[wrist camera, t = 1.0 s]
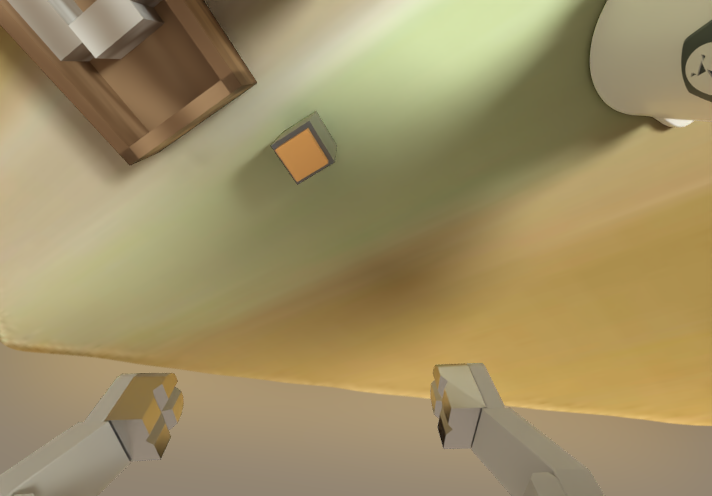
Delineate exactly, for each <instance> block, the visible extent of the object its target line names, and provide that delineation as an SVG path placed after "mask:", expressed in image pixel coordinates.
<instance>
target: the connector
mask: <svg viewBox="0 0 712 496" xmlns="http://www.w3.org/2000/svg"><path fill="white" fill-rule="evenodd" d="M271 147H272V149H273V150H274V152H275V153H276V155H277V156H278V158H279V159H280V160H281V162H282V163H283V165H284V166H285V168H286V169H287V170H288V172H289V173H290V175H291V176H292V178H293V179H294V181H295V182H296V183H297V185H298V184H299V183H301V182H303V181H304V180H306V179H308V178H309V177H311V176H313V175H314V174H316V173H318V172H319V171H321V170H323V169H324V168H326V167H328V166H329V165H331V164H333V163H334V162H335V157H336V149H337V145H336V143H335V141H334V140H333V138H332V136H331V135H330V133H329V131H328V130H327V128H326V126H325V125H324V123H323V121H322V120H321V118H320V116H319V115H318V113H317V111H315V112H313V113H312V114H310V115H309V116H307V117H306V118H304V119H302V120H301V121H299V122H298V123H296V124H295V125H293V126H292V127H290V128H289V129H287V130H286V131H284V132H283V133H282V134H281V135H280V136H279V137H278V138H277V139H276V140H275V142H274V143H273V144H272V145H271Z"/></svg>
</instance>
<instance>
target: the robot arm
mask: <svg viewBox="0 0 712 496" xmlns="http://www.w3.org/2000/svg"><path fill="white" fill-rule="evenodd" d="M590 71H591V77H592V81H593V84H594V86H595V89H596V91H597V93H598V94H599V96H600V97H601V98H602V100H603V101H604V102H605V103H606V104H607V105H609V106H610V107H611V108H613V109H615V110H616V111H619V112H621V113H625V114H629V115H640V116H650V117H654V118H655V119H656V120H658V121H659V122H661V123H662V124H664V125H666V126H669V127H684V126H687V125H688V124H690V123H692V122H693V121H710V122H712V0H607V2H606V4H605V6H604V8H603V10H602V12H601V14H600V17H599V19H598V22H597V24H596V27H595V31H594V34H593V38H592V43H591V50H590ZM433 376H434V379H435V380H434V381H433V382H432V383H431V390H430V392H431V403H432V408H433V412H434V415H435V416H436V417H438V418H439V422H438V431H439V434H440V438H441V441H442V445H443V448H444V449H448V448H449V449H456V448H457V449H460V448H472V451H473V452H474V454H475V455H476V456H477V457H478V458H479V459H480V460H481V462H482V463H483V464H484V465H485V466H486V467H487V468H488V470H489V471H490V472H491V473H492V474H493V475H494V476H495V478H496V479H497V480H498V481H499V482H500V483H501V484H502V486H503V487H504V488H505V489H506V490H507V491H508V492H509V494H510V495H511V496H605V495H604V493H603V491H602V490H601V488H600V487H599V485H598V483H597V482H596V480H595V479H594V477H593V475H592V474H591V472H590V470H589V469H588V468H586V467H585V466H584V465H583V464H581V463H580V462H579V461H578V460H576V459H575V458H574V457H572V456H571V455H570V454H568V453H567V452H566V451H565V450H564V449H562V448H561V447H560V446H559V445H557V444H556V443H555V442H553V441H552V440H551V439H550V438H548V437H547V436H546V435H545V434H543V433H542V432H541V431H539V430H538V429H537V428H536V427H534V426H533V425H532V424H531V423H529V422H528V421H526V419H524V418H523V417H522V416H520V415H519V414H518V413H517V412H515V411H514V410H513V409H511V408H505V406H504V404H503V402H502V399H501V397H500V395H499V393H498V391H497V389H496V387H495V385H494V383H493V381H492V379H491V377H490V375H489V373H488V371H487V369H486V367H485V365H484V364H483V363H469V364H465V363H464V364H441V365H435V366H434V369H433ZM177 382H178V381H177V378H176V376H175V374H172V373H136V374H121V375H120V376H118V377H117V378H116V379H115V380H114V382H113V383H112V384H111V386H110V387H109V388H108V390H107V391H106V392H105V394H104V395H103V397H102V398H101V399H100V401H99V402H98V403H97V405H96V406H95V407H94V409H93V410H92V411H91V413H90V414H89V416H88V417H87V419H86V420H85V421H84V422H79V423H77V424H76V425H74V426H72V427H71V428H69V429H68V430H66V431H65V432H63V433H62V434H61V435H59V436H57V437H56V438H55V439H53V440H52V441H50V442H49V443H47V444H46V445H44V446H43V447H41V448H40V449H38V450H37V451H35V452H34V453H32V454H31V455H29V456H28V457H26V458H25V459H23V460H22V461H21V462H19V463H17V464H16V465H14V466H13V467H12V468H10V469H9V470H7V471H6V472H4V473H3V474H1V475H0V496H98V495H99V494H100V493H101V492H102V491H103V490H104V489H105V488H106V487H107V486H108V485H109V484H110V483H111V482H112V481H113V480H114V479H115V478H116V477H117V476H118V475H119V474H120V473H121V472H122V471H123V470H124V469H125V468H126V467H127V466H128V465H129V464H130V461H146V460H161V458H162V455H163V453H164V451H165V449H166V447H167V445H168V443H169V441H170V438H171V435H170V432H169V430H170V429H171V428H172V427H174V426H175V425H176V424H177V423H178V421H179V419H180V416H181V414H182V409H183V395H182V392H181V391H180V390H179V389H178V388H176V387H175V385H176V383H177Z"/></svg>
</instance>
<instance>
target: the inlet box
mask: <svg viewBox="0 0 712 496" xmlns="http://www.w3.org/2000/svg"><path fill="white" fill-rule="evenodd" d="M0 25H1V26H2V27H3V28H4V29H5V30H6V32H7V33H8V34H9V35H10V36H11V37H12V38H13V39H14V40H15V41H16V42H17V43H18V45H19V46H20V47H21V48H22V49H23V50H24V51H25V52H26V53H27V54H28V55H29V57H30V58H31V59H32V60H33V61H34V62H35V63H36V64H37V65H38V66H39V67H40V68H41V70H42V71H43V72H44V73H45V74H46V75H47V76H48V77H49V78H50V79H51V80H52V82H53V83H54V84H55V85H56V86H57V87H58V88H59V89H60V90H61V91H62V92H63V93H64V95H65V96H66V97H67V98H68V99H69V100H70V101H71V102H72V103H73V104H74V105H75V107H76V108H77V109H78V110H79V111H80V112H81V113H82V114H83V115H84V116H85V117H86V118H87V120H88V121H89V122H90V123H91V124H92V125H93V126H94V127H95V128H96V129H97V130H98V132H99V133H100V134H101V135H102V136H103V137H104V138H105V139H106V140H107V141H108V142H109V143H110V145H111V146H112V147H113V148H114V149H115V150H116V151H117V152H118V153H119V154H120V155H121V157H122V158H123V159H124V160H125V161H126V162H127V163H128V164H129V165H132V164H134V163H137V162H139V161H141V160H143V159H145V158H147V157H150V156H152V155H154V154H156V153H158V152H160V151H161V150H163V149H164V148H166V147H167V146H168V145H170V144H171V143H173V142H174V141H176V140H177V139H178V138H180V137H181V136H183V135H184V134H185V133H187V132H188V131H190V130H191V129H193V128H194V127H195V126H197V125H198V124H200V123H201V122H202V121H204V120H205V119H207V118H208V117H210V116H211V115H212V114H214V113H215V112H217V111H218V110H219V109H221V108H222V107H224V106H225V105H227V104H228V103H229V102H231V101H232V100H234V99H235V98H236V97H238V96H239V95H241V94H242V93H244V92H245V91H246V90H248V89H249V88H251V87H252V86H253V85H255V84H256V83H257V82H256V80H255V78H254V77H253V75H252V74H251V72H250V71H249V69H248V68H247V66H246V65H245V63H244V62H243V60H242V59H241V57H240V56H239V54H238V53H237V51H236V49H235V48H234V46H233V45H232V43H231V42H230V40H229V39H228V37H227V36H226V34H225V33H224V31H223V30H222V28H221V27H220V25H219V24H218V22H217V20H216V19H215V17H214V16H213V14H212V13H211V11H210V10H209V8H208V7H207V5H206V4H205V2H204V1H203V0H0Z"/></svg>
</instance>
